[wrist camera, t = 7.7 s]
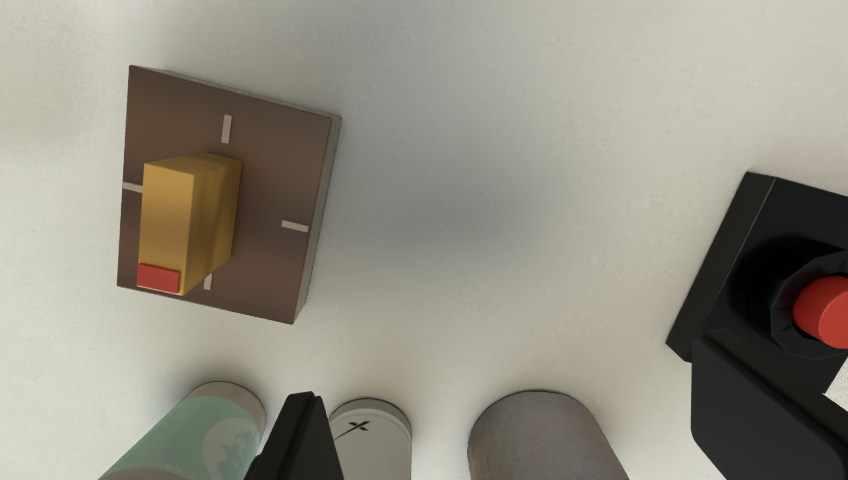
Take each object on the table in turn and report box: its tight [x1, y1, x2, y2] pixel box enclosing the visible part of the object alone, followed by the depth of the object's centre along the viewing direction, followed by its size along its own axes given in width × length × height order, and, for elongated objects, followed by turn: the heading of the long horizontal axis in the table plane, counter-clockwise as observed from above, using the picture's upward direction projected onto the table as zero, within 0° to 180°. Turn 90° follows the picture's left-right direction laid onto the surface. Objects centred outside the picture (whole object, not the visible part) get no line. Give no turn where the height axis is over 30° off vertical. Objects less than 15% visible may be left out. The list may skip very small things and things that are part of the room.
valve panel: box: [117, 65, 342, 325], centre depth 24 cm, size 12×10×3 cm
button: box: [792, 276, 848, 349], centre depth 23 cm, size 4×4×2 cm
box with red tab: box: [137, 152, 242, 296], centre depth 20 cm, size 6×2×5 cm, turn 166°
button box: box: [666, 172, 848, 394], centre depth 26 cm, size 12×10×4 cm
